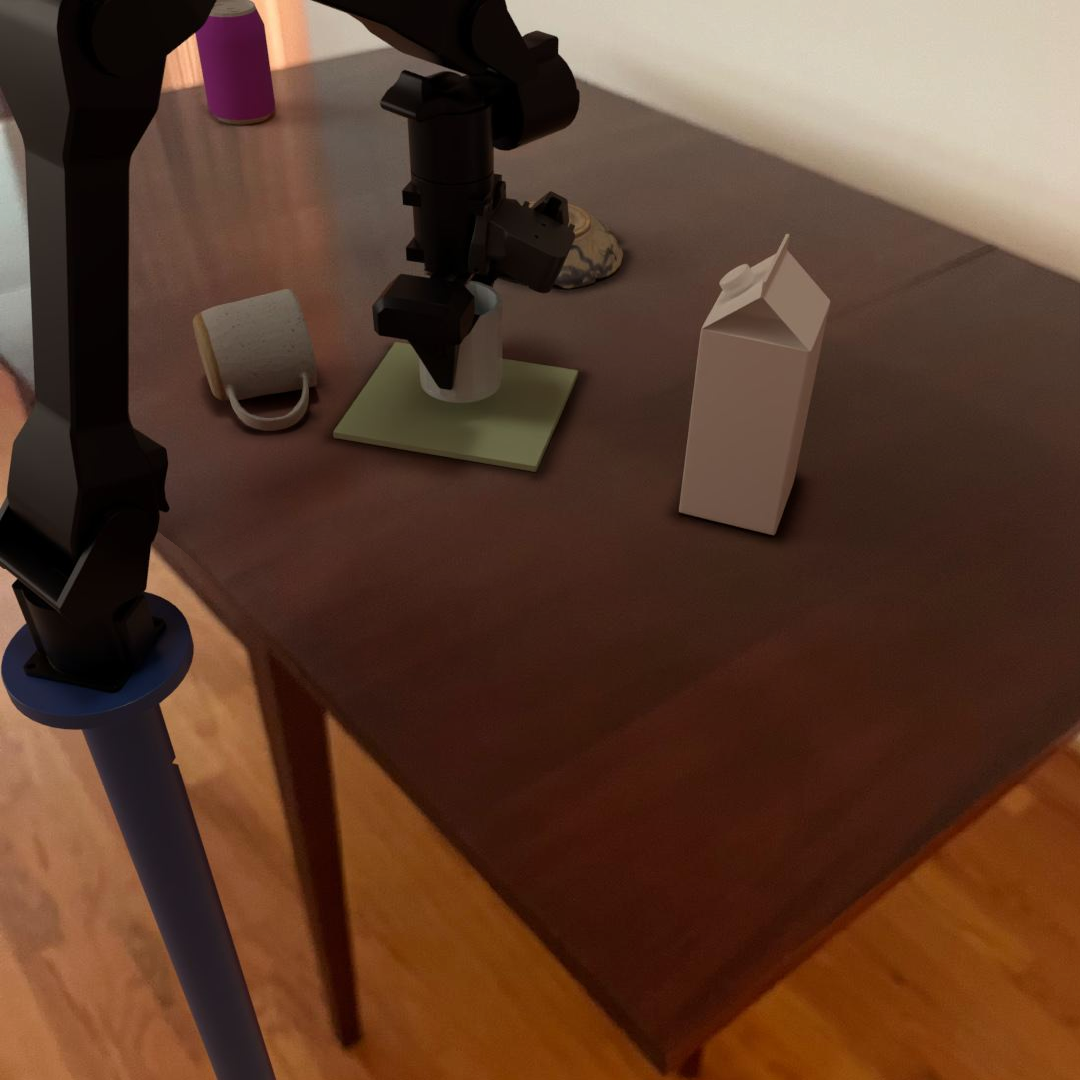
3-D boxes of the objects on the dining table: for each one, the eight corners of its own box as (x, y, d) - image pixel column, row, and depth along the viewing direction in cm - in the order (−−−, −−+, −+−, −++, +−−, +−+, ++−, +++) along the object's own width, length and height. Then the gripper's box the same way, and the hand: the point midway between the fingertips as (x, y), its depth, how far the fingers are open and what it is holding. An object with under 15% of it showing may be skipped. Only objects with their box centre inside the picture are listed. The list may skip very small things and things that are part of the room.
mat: (333, 438, 87) (332, 431, 87) (395, 347, 98) (395, 341, 97) (536, 472, 85) (536, 465, 85) (578, 376, 95) (578, 370, 95)
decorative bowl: (442, 240, 113) (518, 303, 104) (441, 203, 111) (518, 265, 102) (570, 211, 120) (652, 269, 110) (572, 176, 117) (656, 232, 108)
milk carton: (794, 482, 86) (842, 243, 73) (774, 538, 81) (822, 292, 68) (702, 460, 87) (734, 223, 74) (677, 514, 82) (707, 270, 69)
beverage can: (290, 112, 136) (276, 3, 128) (244, 132, 131) (227, 19, 123) (242, 98, 139) (225, -9, 131) (195, 116, 134) (175, 6, 126)
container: (408, 395, 88) (402, 313, 83) (435, 354, 92) (430, 274, 88) (488, 408, 87) (487, 326, 82) (511, 366, 92) (511, 286, 87)
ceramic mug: (200, 374, 93) (182, 288, 88) (299, 355, 96) (287, 271, 91) (229, 446, 86) (211, 358, 81) (335, 423, 89) (324, 337, 84)
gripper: (531, 242, 71) (528, 450, 81) (595, 134, 84) (586, 324, 95) (360, 217, 72) (379, 425, 82) (450, 115, 86) (457, 304, 96)
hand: (459, 366), depth 89 cm, fingers closed on container, 6 cm apart
